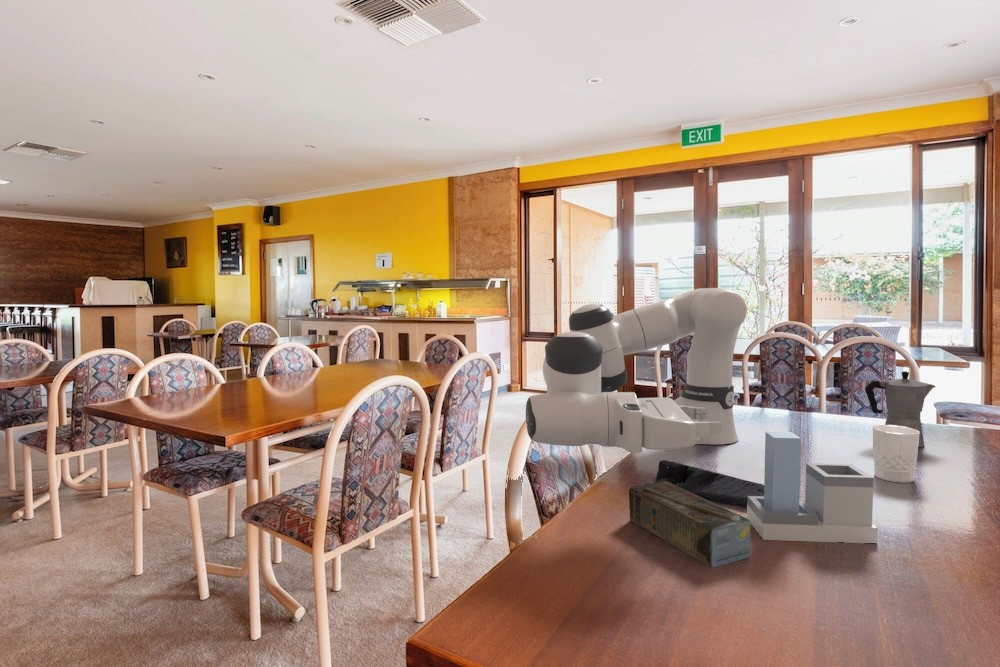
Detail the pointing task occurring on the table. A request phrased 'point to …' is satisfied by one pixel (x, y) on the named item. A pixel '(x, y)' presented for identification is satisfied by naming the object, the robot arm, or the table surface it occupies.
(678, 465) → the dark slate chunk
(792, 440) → the plug
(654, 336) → the robot arm
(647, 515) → the beverage carton
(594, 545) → the table surface
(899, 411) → the coffeepot
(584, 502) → the table surface
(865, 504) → the stepped base with tray
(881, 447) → the white cup
